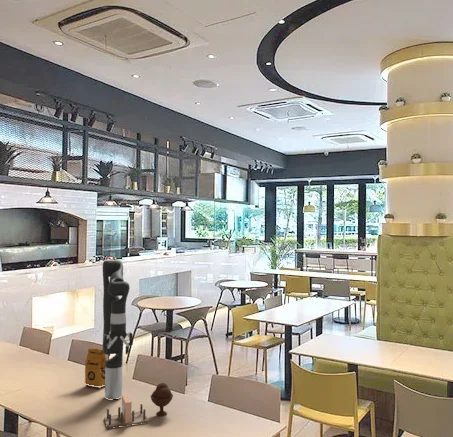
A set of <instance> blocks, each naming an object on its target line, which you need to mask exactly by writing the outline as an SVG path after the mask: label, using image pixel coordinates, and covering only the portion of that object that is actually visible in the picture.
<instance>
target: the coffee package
mask: <svg viewBox="0 0 453 437" xmlns="http://www.w3.org/2000/svg"><path fill="white" fill-rule="evenodd" d="M87 351H88V352H87V355H86V359H85V362H84V384H85V383H86V384H89V385H94V386H102V385H105V362H106V361H107V358H106V357H107V356H106V354H104V353H103V349H100V348H95V347H94V348H93V347H88V348H87Z"/></svg>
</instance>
